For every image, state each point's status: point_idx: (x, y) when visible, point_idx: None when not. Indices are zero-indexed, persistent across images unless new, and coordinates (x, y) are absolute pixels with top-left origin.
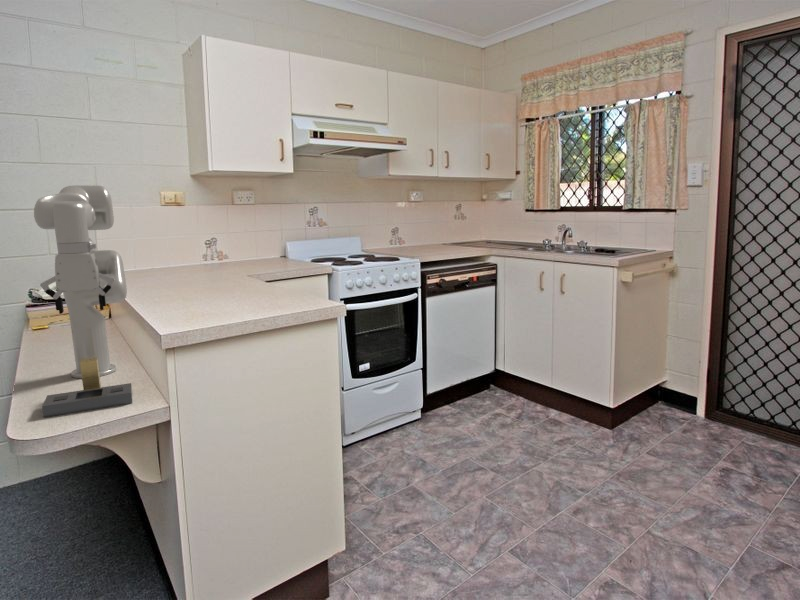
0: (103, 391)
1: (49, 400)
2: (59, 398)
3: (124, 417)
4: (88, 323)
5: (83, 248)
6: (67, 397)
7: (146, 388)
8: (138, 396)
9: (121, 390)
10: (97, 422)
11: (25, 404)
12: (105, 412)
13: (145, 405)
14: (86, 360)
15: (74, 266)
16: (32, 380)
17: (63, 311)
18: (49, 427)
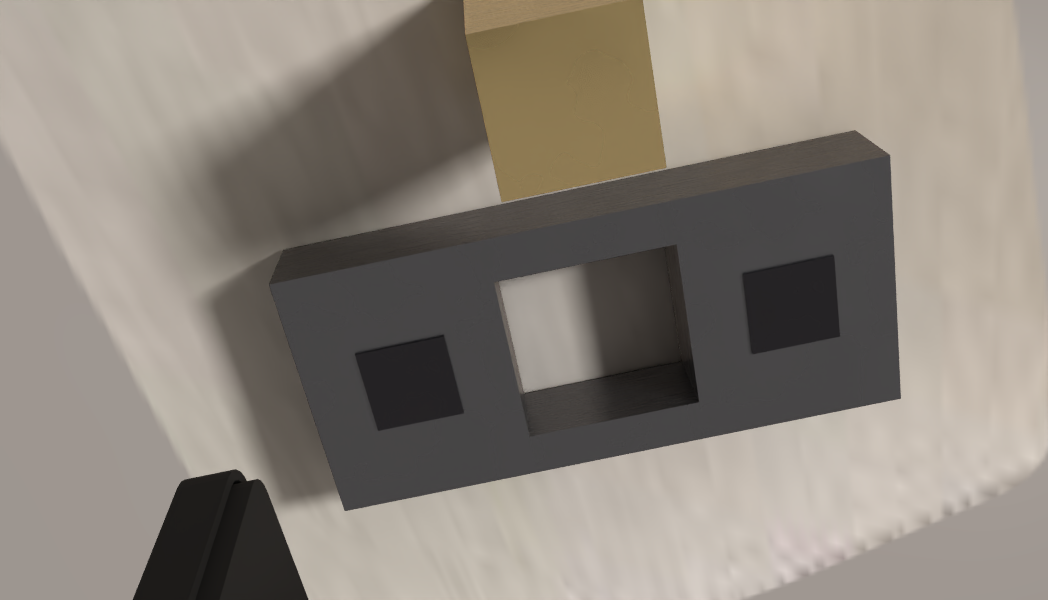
0: (696, 317)
1: (343, 408)
2: (406, 395)
3: (836, 559)
4: None
5: None
6: (455, 377)
7: (958, 13)
8: (900, 206)
9: (830, 339)
10: (698, 591)
11: (55, 132)
12: (714, 457)
13: (949, 403)
14: (551, 134)
15: None
16: None
17: (273, 511)
18: (448, 596)
